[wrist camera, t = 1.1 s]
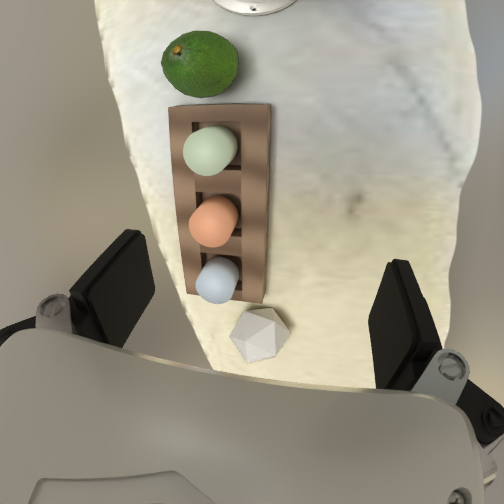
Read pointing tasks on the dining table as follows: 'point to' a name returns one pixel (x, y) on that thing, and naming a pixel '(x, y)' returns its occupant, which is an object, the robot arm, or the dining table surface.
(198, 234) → the button terracotta
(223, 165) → the button sage
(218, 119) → the board
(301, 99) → the dining table surface
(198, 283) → the button blue
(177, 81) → the avocado
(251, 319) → the die
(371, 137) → the dining table surface
